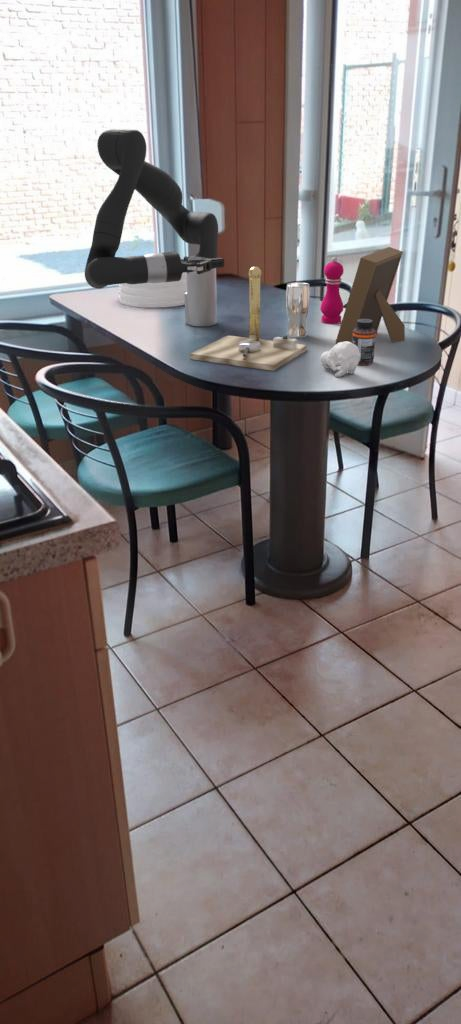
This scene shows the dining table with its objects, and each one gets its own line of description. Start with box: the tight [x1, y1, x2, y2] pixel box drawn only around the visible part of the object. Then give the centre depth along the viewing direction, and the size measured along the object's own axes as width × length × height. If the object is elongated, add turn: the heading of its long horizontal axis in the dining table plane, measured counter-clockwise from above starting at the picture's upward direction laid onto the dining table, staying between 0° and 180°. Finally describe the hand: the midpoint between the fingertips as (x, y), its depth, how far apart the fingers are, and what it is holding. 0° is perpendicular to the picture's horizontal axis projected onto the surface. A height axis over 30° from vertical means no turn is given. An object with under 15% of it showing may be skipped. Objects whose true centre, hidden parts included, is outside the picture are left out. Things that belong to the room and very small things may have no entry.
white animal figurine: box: [319, 341, 361, 378], centre depth 197 cm, size 6×8×12 cm
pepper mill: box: [320, 256, 344, 325], centre depth 243 cm, size 7×7×20 cm
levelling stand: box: [189, 335, 308, 372], centre depth 213 cm, size 25×22×5 cm
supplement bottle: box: [352, 319, 377, 366], centre depth 204 cm, size 6×6×11 cm
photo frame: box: [335, 246, 406, 345], centre depth 220 cm, size 15×22×25 cm
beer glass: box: [285, 281, 311, 339], centre depth 229 cm, size 7×7×15 cm
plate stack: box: [117, 272, 187, 309], centre depth 279 cm, size 28×28×12 cm
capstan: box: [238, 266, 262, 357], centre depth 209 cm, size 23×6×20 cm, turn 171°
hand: (223, 262), depth 210 cm, fingers closed
